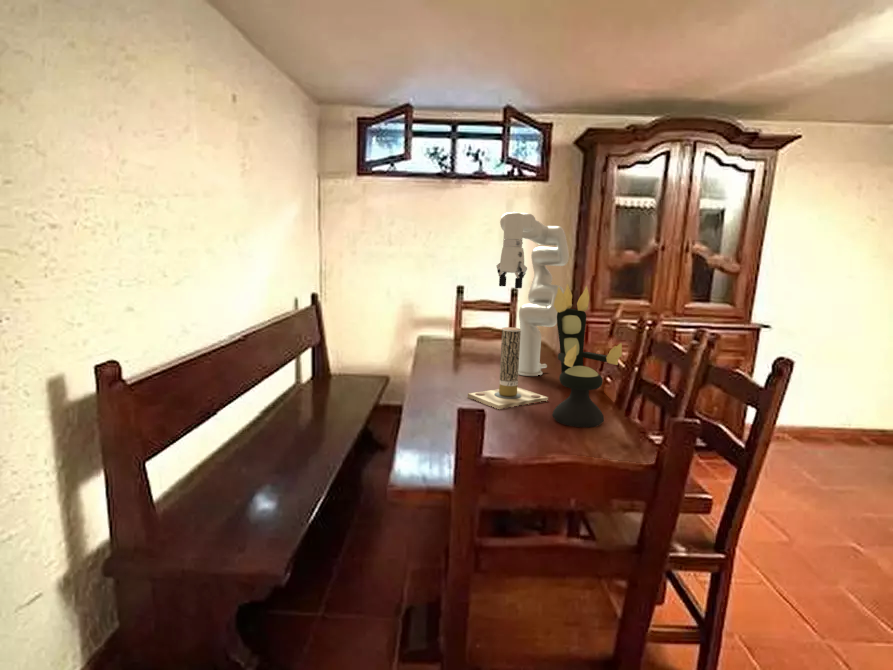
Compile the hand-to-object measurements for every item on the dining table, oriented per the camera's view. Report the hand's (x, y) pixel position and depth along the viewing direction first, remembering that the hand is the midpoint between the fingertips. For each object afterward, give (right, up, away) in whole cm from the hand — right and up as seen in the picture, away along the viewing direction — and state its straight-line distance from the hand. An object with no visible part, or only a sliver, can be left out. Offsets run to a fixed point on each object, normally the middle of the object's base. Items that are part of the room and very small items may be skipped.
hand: (510, 287), depth 237 cm
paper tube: (-3, -42, -16) cm, 45 cm away
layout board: (-3, -43, -16) cm, 46 cm away
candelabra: (+17, -48, -39) cm, 64 cm away
